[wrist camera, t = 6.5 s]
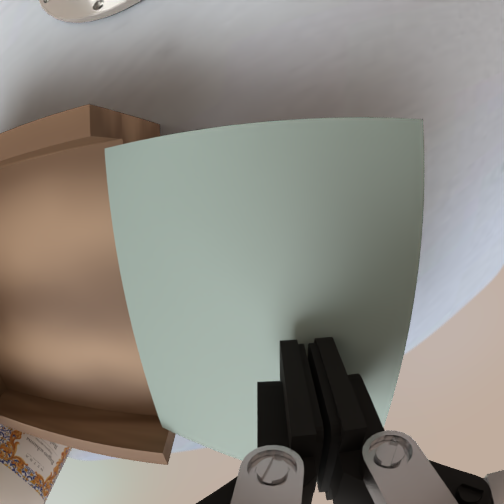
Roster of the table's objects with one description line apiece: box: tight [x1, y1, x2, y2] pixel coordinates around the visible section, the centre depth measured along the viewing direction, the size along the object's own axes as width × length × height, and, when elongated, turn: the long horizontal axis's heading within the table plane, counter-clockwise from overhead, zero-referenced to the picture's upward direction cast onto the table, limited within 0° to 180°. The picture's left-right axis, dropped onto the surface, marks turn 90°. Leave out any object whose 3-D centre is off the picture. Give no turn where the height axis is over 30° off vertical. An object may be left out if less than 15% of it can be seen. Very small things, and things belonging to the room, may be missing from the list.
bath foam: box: [0, 424, 72, 504], centre depth 15 cm, size 7×7×20 cm
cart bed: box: [0, 104, 175, 465], centre depth 13 cm, size 18×16×15 cm
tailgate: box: [105, 117, 424, 482], centre depth 12 cm, size 15×2×11 cm
